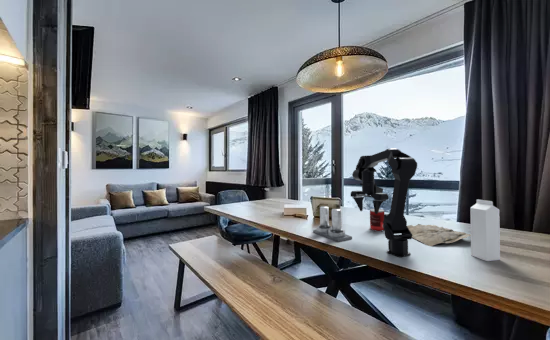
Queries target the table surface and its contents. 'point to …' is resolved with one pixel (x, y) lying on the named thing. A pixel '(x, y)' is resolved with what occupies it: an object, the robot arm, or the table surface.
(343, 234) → the grey cylinder holder
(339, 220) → the billet
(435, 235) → the stone slab
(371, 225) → the canned food
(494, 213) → the milk
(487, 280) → the table surface
